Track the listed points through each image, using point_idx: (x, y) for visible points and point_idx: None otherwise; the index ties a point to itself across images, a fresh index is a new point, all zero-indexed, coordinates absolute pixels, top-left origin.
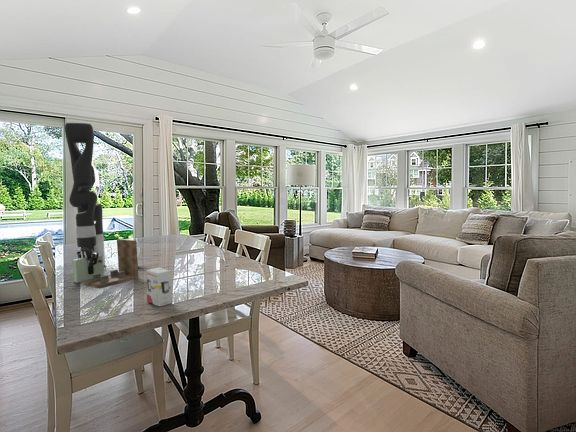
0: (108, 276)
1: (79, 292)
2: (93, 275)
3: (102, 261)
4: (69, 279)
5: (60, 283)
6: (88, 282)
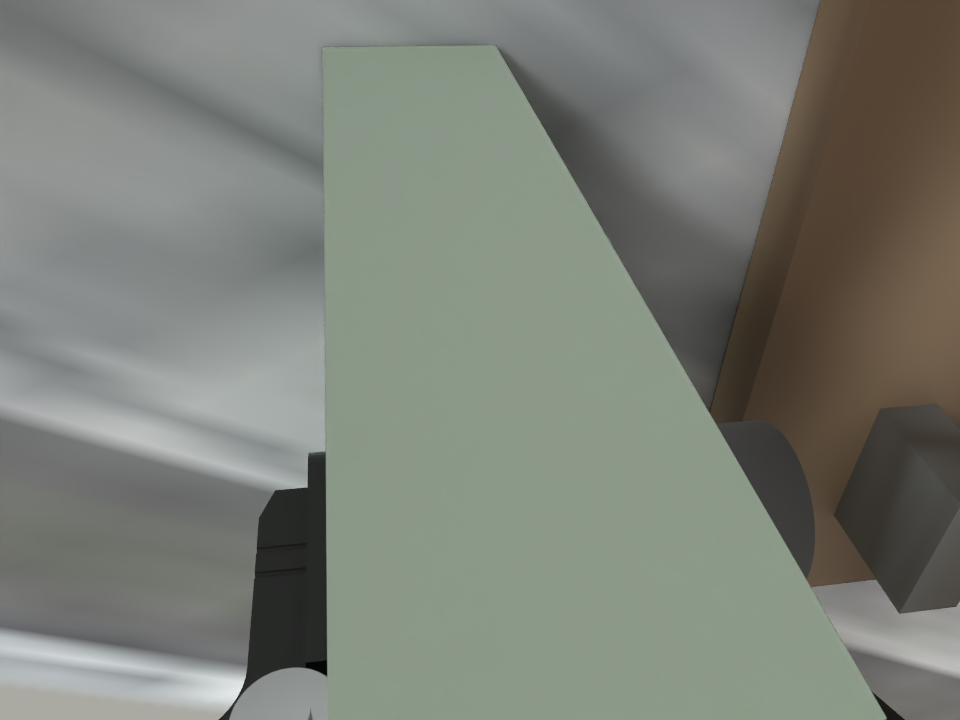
0: (930, 192)
1: (935, 676)
2: (926, 607)
3: (658, 345)
4: (20, 576)
5: (226, 701)
6: (831, 581)
